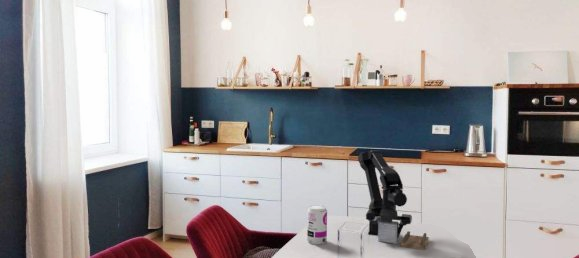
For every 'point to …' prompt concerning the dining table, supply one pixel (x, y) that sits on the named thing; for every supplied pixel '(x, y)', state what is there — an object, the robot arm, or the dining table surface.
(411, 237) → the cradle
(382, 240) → the medicine box
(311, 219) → the supplement can
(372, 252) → the dining table surface
